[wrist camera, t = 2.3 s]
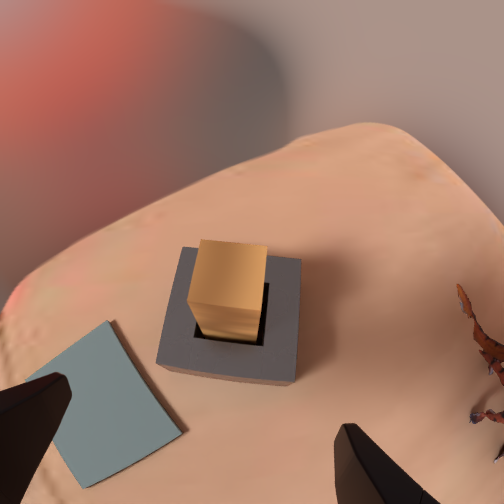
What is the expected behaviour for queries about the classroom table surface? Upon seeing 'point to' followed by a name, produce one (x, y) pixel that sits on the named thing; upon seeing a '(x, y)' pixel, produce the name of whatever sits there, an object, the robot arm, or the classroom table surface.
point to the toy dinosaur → (491, 353)
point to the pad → (106, 409)
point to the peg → (228, 290)
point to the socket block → (232, 354)
